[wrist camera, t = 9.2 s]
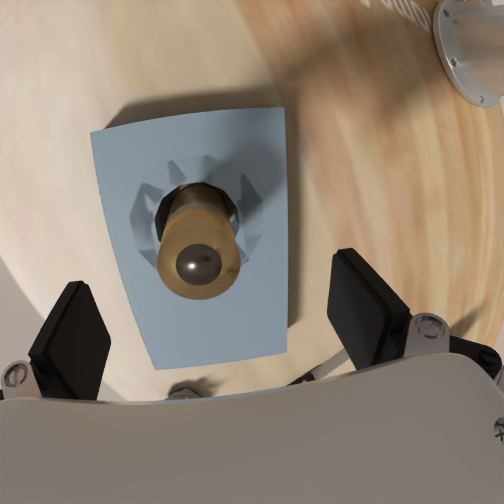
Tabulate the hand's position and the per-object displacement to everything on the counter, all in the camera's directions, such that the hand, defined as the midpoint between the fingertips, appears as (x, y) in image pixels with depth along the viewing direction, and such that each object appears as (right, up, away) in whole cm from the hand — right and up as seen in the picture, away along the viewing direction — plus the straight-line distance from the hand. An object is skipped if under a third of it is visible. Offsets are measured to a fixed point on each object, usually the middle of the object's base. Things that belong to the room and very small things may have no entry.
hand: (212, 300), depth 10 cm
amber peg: (-2, +5, +10) cm, 11 cm away
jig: (-2, +2, +12) cm, 12 cm away
